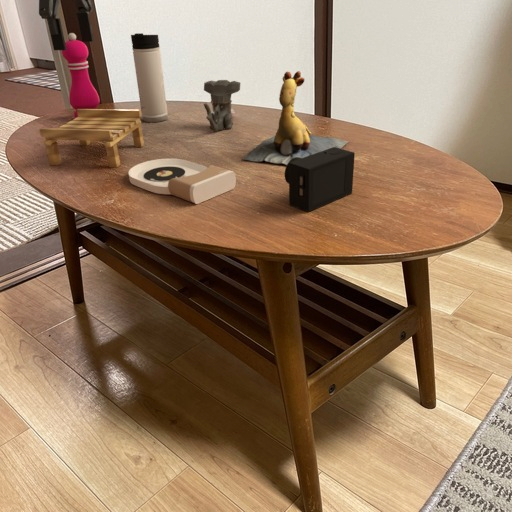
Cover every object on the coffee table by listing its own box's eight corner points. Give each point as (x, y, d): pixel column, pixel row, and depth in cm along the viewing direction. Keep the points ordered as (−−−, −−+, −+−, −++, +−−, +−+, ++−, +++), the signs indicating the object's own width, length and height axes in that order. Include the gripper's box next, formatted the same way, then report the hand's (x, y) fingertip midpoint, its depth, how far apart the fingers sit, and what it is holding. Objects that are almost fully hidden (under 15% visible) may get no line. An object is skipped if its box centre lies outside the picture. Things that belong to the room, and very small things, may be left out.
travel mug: (137, 122, 126) (124, 33, 116) (148, 115, 131) (137, 30, 121) (161, 123, 124) (150, 33, 114) (171, 116, 130) (162, 30, 120)
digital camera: (327, 184, 87) (328, 144, 84) (352, 193, 84) (355, 151, 80) (283, 202, 82) (282, 160, 78) (308, 212, 78) (309, 168, 74)
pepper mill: (68, 118, 131) (49, 33, 121) (93, 112, 135) (78, 30, 126) (82, 123, 127) (64, 35, 117) (107, 117, 131) (93, 32, 121)
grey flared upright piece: (266, 122, 122) (265, 78, 117) (207, 140, 112) (203, 92, 107) (225, 112, 131) (223, 71, 126) (168, 128, 121) (162, 84, 116)
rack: (48, 166, 100) (39, 129, 96) (85, 142, 113) (78, 108, 109) (115, 168, 98) (109, 130, 94) (145, 144, 110) (140, 109, 107)
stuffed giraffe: (241, 159, 99) (242, 72, 91) (278, 136, 114) (281, 59, 106) (321, 172, 93) (328, 81, 86) (348, 146, 108) (357, 66, 100)
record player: (186, 189, 79) (114, 163, 92) (188, 207, 81) (117, 179, 93) (240, 168, 86) (166, 146, 99) (241, 185, 88) (168, 162, 100)
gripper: (38, -62, 101) (62, 53, 111) (95, -59, 122) (111, 38, 132) (3, -60, 102) (31, 54, 113) (66, -58, 123) (84, 38, 134)
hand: (74, 45), depth 123 cm, fingers open, 13 cm apart
